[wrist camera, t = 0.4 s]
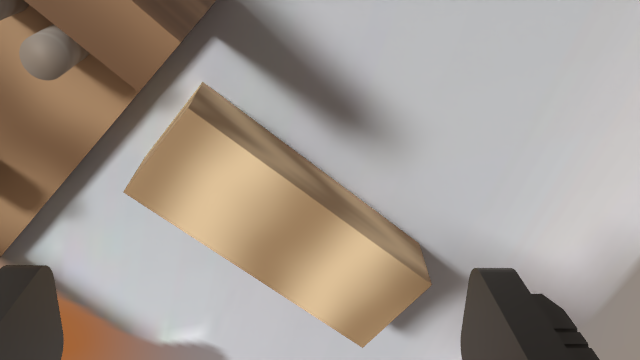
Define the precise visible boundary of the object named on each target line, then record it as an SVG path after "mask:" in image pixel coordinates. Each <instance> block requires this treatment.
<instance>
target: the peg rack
mask: <svg viewBox="0 0 640 360" xmlns="http://www.w3.org/2000/svg"><path fill="white" fill-rule="evenodd" d="M215 1H216V0H0V257H1V256H2V254H3V253H4V252H5V251H6V250H7V249H8V247H9V246H10V245H11V244H12V243H13V241H14V240H15V239H16V238H17V237H18V235H19V234H20V233H21V232H22V231H23V229H24V228H25V227H26V226H27V225H28V224H29V222H30V221H31V220H32V219H33V218H34V216H35V215H36V214H37V213H38V212H39V210H40V209H41V208H42V207H43V206H44V205H45V203H46V202H47V201H48V200H49V199H50V197H51V196H52V195H53V194H54V193H55V191H56V190H57V189H58V188H59V187H60V186H61V184H62V183H63V182H64V181H65V180H66V178H67V177H68V176H69V175H70V174H71V172H72V171H73V170H74V169H75V168H76V167H77V165H78V164H79V163H80V162H81V161H82V159H83V158H84V157H85V156H86V155H87V153H88V152H89V151H90V150H91V149H92V148H93V146H94V145H95V144H96V143H97V142H98V140H99V139H100V138H101V137H102V136H103V134H104V133H105V132H106V131H107V130H108V129H109V127H110V126H111V125H112V124H113V123H114V121H115V120H116V119H117V118H118V117H119V115H120V114H121V113H122V112H123V111H124V110H125V108H126V107H127V106H128V105H129V104H130V102H131V101H132V100H133V99H134V98H135V96H136V95H137V94H138V93H139V92H140V90H141V89H142V88H143V87H144V86H145V85H146V83H147V82H148V81H149V80H150V79H151V77H152V76H153V75H154V74H155V73H156V71H157V70H158V69H159V68H160V67H161V66H162V64H163V63H164V62H165V61H166V60H167V58H168V57H169V56H170V55H171V54H172V52H173V51H174V50H175V49H176V48H177V47H178V45H179V44H180V43H181V42H182V41H183V39H184V38H185V37H186V36H187V35H188V33H189V32H190V31H191V30H192V29H193V28H194V26H195V25H196V24H197V23H198V22H199V20H200V19H201V18H202V17H203V16H204V14H205V13H206V12H207V11H208V10H209V9H210V7H211V6H212V5H213V4H214V3H215Z"/></svg>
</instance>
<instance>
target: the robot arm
mask: <svg viewBox="0 0 640 360" xmlns="http://www.w3.org/2000/svg"><path fill="white" fill-rule="evenodd" d="M62 352H63V330H62V324H61V318H60V312H59V306H58V300H57V294H56V288H55V282H54V277H53V273H52V271H51V269H50V268H49V267H48V266H33V265H6V266H3V267H2V268H1V269H0V360H61V357H62ZM461 355H462V360H599V358H598V357H597V355H596V354H595V353H594V351H593V350H592V349H591V348H589V347H588V343H587V342H586V340H585V339H584V337H583V336H582V335H581V333H580V332H577V328H576V326H575V325H574V323H573V322H572V321H571V319H570V318H569V316H568V315H567V314H566V312H565V311H564V310H563V309H562V308H560V307H559V306H558V305H556V304H555V303H554V302H552V301H551V300H549V299H548V298H547V297H545V296H544V295H543V294H531V293H530V292H529V290H528V289H527V287H526V286H525V284H524V283H523V281H522V280H521V278H520V277H519V275H518V274H517V272H516V271H515V270H514V269H512V268H474V269H473V270H472V271H471V274H470V277H469V283H468V290H467V297H466V303H465V310H464V317H463V324H462V331H461Z"/></svg>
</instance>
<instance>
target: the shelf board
mask: <svg viewBox="0 0 640 360" xmlns="http://www.w3.org/2000/svg"><path fill="white" fill-rule="evenodd" d="M124 193H125V194H127V195H128V196H130V197H131V198H133V199H135V200H136V201H138V202H139V203H141V204H142V205H144V206H145V207H147V208H148V209H150V210H151V211H153V212H155V213H156V214H158V215H159V216H161V217H162V218H164V219H165V220H167V221H168V222H170V223H171V224H173V225H175V226H176V227H178V228H179V229H181V230H182V231H184V232H185V233H187V234H188V235H190V236H191V237H193V238H195V239H196V240H198V241H199V242H201V243H202V244H204V245H205V246H207V247H208V248H210V249H211V250H213V251H215V252H216V253H218V254H219V255H221V256H222V257H224V258H225V259H227V260H228V261H230V262H231V263H233V264H235V265H236V266H238V267H239V268H241V269H242V270H244V271H245V272H247V273H248V274H250V275H251V276H253V277H255V278H256V279H258V280H259V281H261V282H262V283H264V284H265V285H267V286H268V287H270V288H271V289H273V290H275V291H276V292H278V293H279V294H281V295H282V296H284V297H285V298H287V299H288V300H290V301H291V302H293V303H295V304H296V305H298V306H299V307H301V308H302V309H304V310H305V311H307V312H308V313H310V314H311V315H313V316H315V317H316V318H318V319H319V320H321V321H322V322H324V323H325V324H327V325H328V326H330V327H331V328H333V329H335V330H336V331H338V332H339V333H341V334H342V335H344V336H345V337H347V338H348V339H350V340H351V341H353V342H355V343H356V344H358V345H359V346H361V347H362V348H363V347H364V346H365V345H366V344H367V343H369V342H370V341H371V340H372V339H373V338H374V337H375V336H376V335H377V334H378V333H380V332H381V331H382V330H383V329H384V328H385V327H386V326H387V325H388V324H389V323H391V322H392V321H393V320H394V319H395V318H396V317H397V316H398V315H399V314H400V313H402V312H403V311H404V310H405V309H406V308H407V307H408V306H409V305H410V304H411V303H413V302H414V301H415V300H416V299H417V298H418V297H419V296H420V295H421V294H422V293H424V292H425V291H426V290H427V289H428V288H429V287H430V286H431V285H432V283H431V280H430V277H429V274H428V271H427V267H426V264H425V261H424V258H423V255H422V251H421V248H420V245H419V243H418V242H416V241H415V240H414V239H412V238H411V237H410V236H408V235H407V234H406V233H404V232H403V231H402V230H400V229H399V228H398V227H396V226H395V225H394V224H392V223H391V222H390V221H388V220H387V219H386V218H384V217H383V216H382V215H380V214H379V213H378V212H376V211H375V210H374V209H372V208H371V207H369V206H368V205H367V204H365V203H364V202H363V201H361V200H360V199H359V198H357V197H356V196H355V195H353V194H352V193H351V192H349V191H348V190H347V189H345V188H344V187H343V186H341V185H340V184H339V183H337V182H336V181H335V180H333V179H332V178H331V177H329V176H328V175H327V174H325V173H324V172H323V171H321V170H320V169H319V168H317V167H316V166H315V165H313V164H312V163H311V162H309V161H308V160H307V159H305V158H304V157H303V156H301V155H300V154H299V153H297V152H296V151H295V150H293V149H292V148H290V147H289V146H288V145H286V144H285V143H284V142H282V141H281V140H280V139H278V138H277V137H276V136H274V135H273V134H272V133H270V132H269V131H268V130H266V129H265V128H264V127H262V126H261V125H260V124H258V123H257V122H256V121H254V120H253V119H252V118H250V117H249V116H248V115H246V114H245V113H244V112H242V111H241V110H240V109H238V108H237V107H236V106H234V105H233V104H232V103H230V102H229V101H228V100H226V99H225V98H224V97H222V96H221V95H220V94H218V93H217V92H215V91H214V90H213V89H211V88H210V87H209V86H207V85H206V84H205V83H203V82H202V83H201V85H200V86H199V87H198V89H197V90H196V91H195V92H194V94H193V95H192V96H191V98H190V99H189V100H188V102H187V103H186V104H185V106H184V107H183V108H182V109H181V111H180V112H179V113H178V115H177V116H176V117H175V119H174V120H173V121H172V122H171V124H170V125H169V126H168V128H167V129H166V130H165V132H164V133H163V134H162V136H161V137H160V138H159V139H158V141H157V142H156V143H155V145H154V146H153V147H152V149H151V150H150V151H149V153H148V154H147V155H146V156H145V158H144V159H143V161H142V163H141V164H140V166H139V167H138V169H137V171H136V172H135V174H134V176H133V177H132V179H131V180H130V182H129V184H128V185H127V187H126V189H125V190H124Z"/></svg>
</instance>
